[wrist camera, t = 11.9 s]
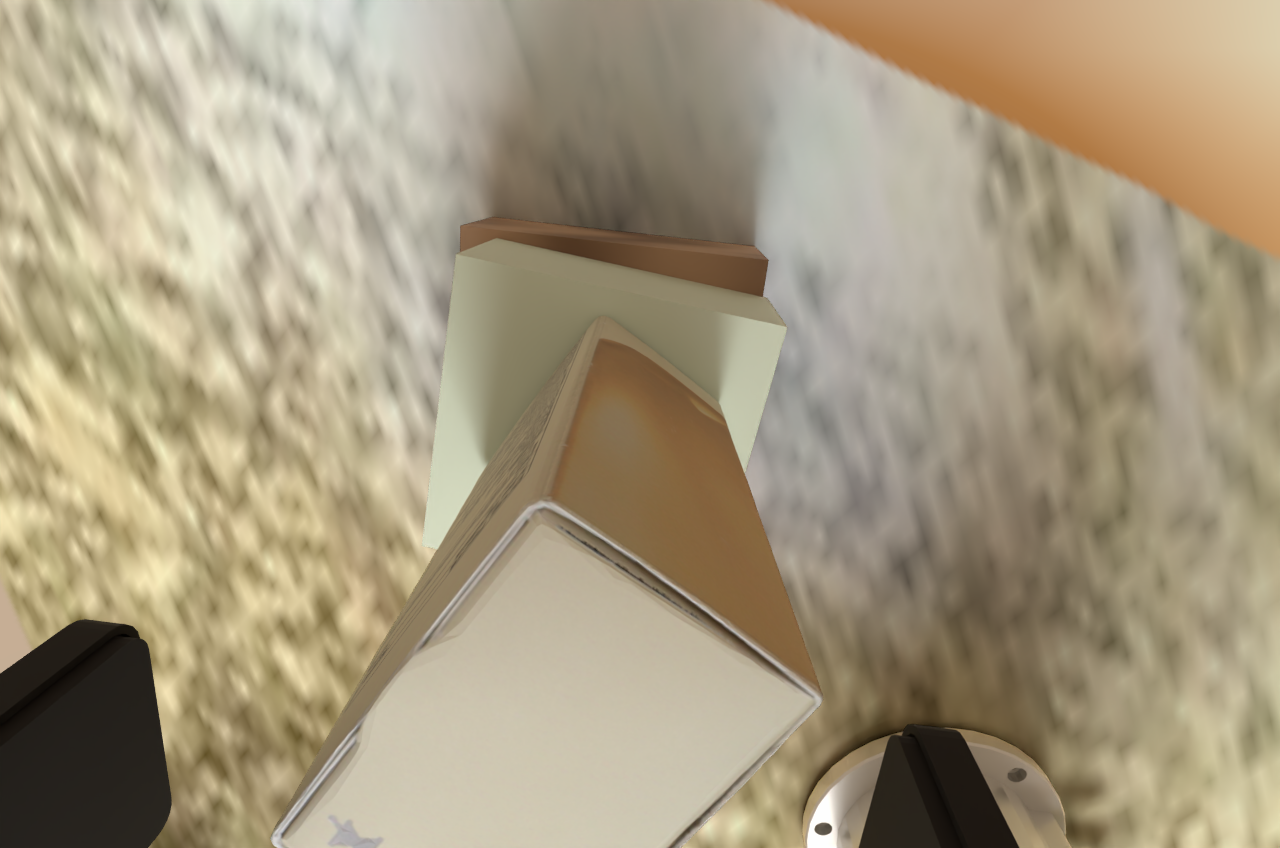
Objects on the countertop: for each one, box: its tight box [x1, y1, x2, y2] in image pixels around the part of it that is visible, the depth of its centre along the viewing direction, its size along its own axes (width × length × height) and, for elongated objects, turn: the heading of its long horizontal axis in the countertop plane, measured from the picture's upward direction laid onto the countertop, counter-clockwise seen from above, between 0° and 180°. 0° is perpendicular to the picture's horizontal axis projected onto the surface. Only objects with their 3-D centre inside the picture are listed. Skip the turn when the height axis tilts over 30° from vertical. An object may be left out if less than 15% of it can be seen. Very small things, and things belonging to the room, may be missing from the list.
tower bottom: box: [460, 217, 769, 297], centre depth 26 cm, size 10×10×4 cm
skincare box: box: [270, 316, 823, 848], centre depth 14 cm, size 6×4×12 cm
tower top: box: [422, 238, 787, 549], centre depth 22 cm, size 9×9×4 cm
